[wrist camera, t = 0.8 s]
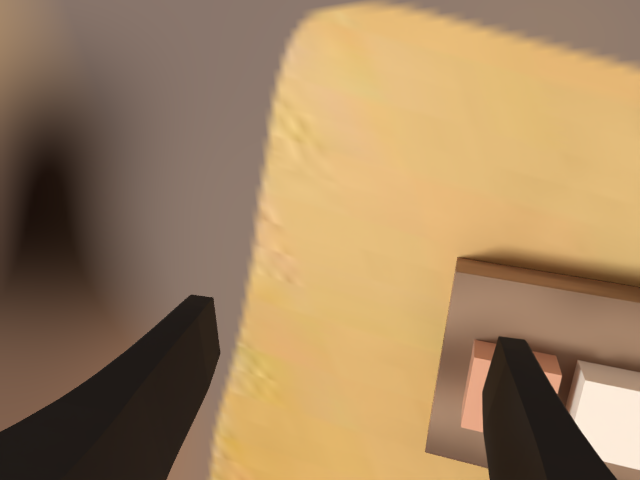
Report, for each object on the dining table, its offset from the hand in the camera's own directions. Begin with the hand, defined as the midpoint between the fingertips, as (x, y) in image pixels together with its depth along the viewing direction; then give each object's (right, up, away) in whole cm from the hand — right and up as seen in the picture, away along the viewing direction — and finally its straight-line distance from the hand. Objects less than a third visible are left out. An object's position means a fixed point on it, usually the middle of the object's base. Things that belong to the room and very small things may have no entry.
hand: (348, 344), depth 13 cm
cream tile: (+14, -5, +13) cm, 20 cm away
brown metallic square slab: (+12, -4, +16) cm, 20 cm away
